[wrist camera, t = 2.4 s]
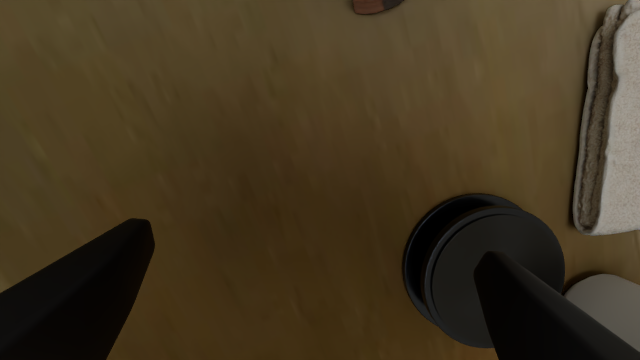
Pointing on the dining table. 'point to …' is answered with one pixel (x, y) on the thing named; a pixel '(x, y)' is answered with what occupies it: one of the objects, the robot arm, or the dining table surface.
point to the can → (610, 304)
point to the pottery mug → (373, 5)
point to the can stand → (473, 259)
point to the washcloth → (611, 129)
